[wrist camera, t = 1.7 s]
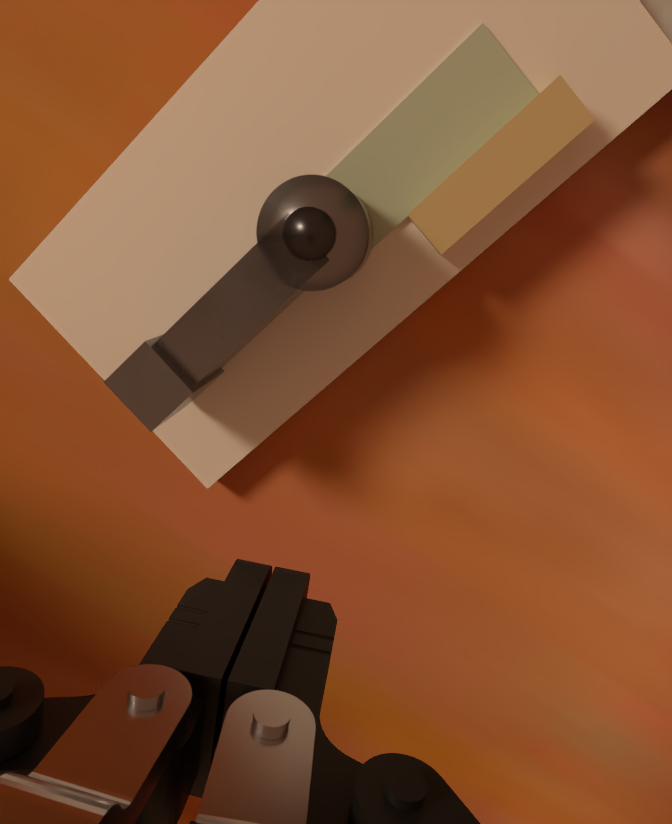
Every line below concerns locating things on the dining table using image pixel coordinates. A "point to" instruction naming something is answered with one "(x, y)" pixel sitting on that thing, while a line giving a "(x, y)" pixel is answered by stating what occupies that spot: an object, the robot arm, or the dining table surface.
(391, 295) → the lock board
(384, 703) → the dining table surface
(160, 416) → the latch bar
